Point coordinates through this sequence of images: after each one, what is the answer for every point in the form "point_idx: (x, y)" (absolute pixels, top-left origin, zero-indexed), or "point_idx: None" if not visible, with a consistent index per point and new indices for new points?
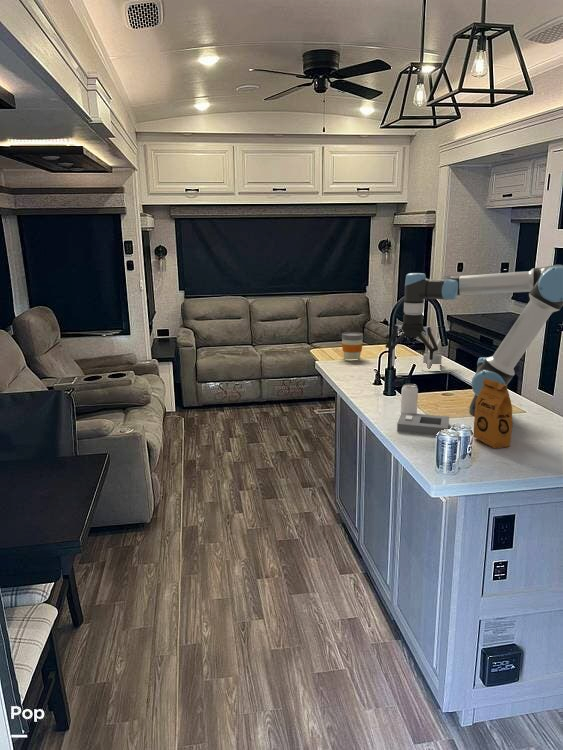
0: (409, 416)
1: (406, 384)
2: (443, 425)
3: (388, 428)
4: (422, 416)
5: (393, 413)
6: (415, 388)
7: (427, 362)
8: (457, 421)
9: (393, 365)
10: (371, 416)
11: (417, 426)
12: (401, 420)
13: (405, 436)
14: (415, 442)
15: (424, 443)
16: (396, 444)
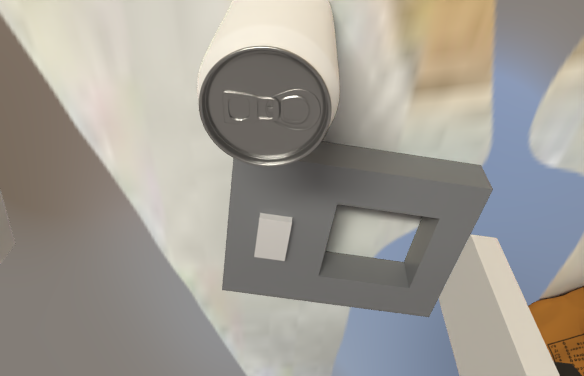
0: (275, 231)
1: (231, 56)
2: (420, 293)
3: (189, 239)
4: (345, 201)
5: (186, 23)
6: (313, 142)
7: (460, 367)
8: (546, 123)
9: (6, 249)
10: (72, 95)
11: (307, 297)
12: (238, 257)
13: (261, 301)
14: (295, 338)
15: (324, 342)
16: (232, 352)
